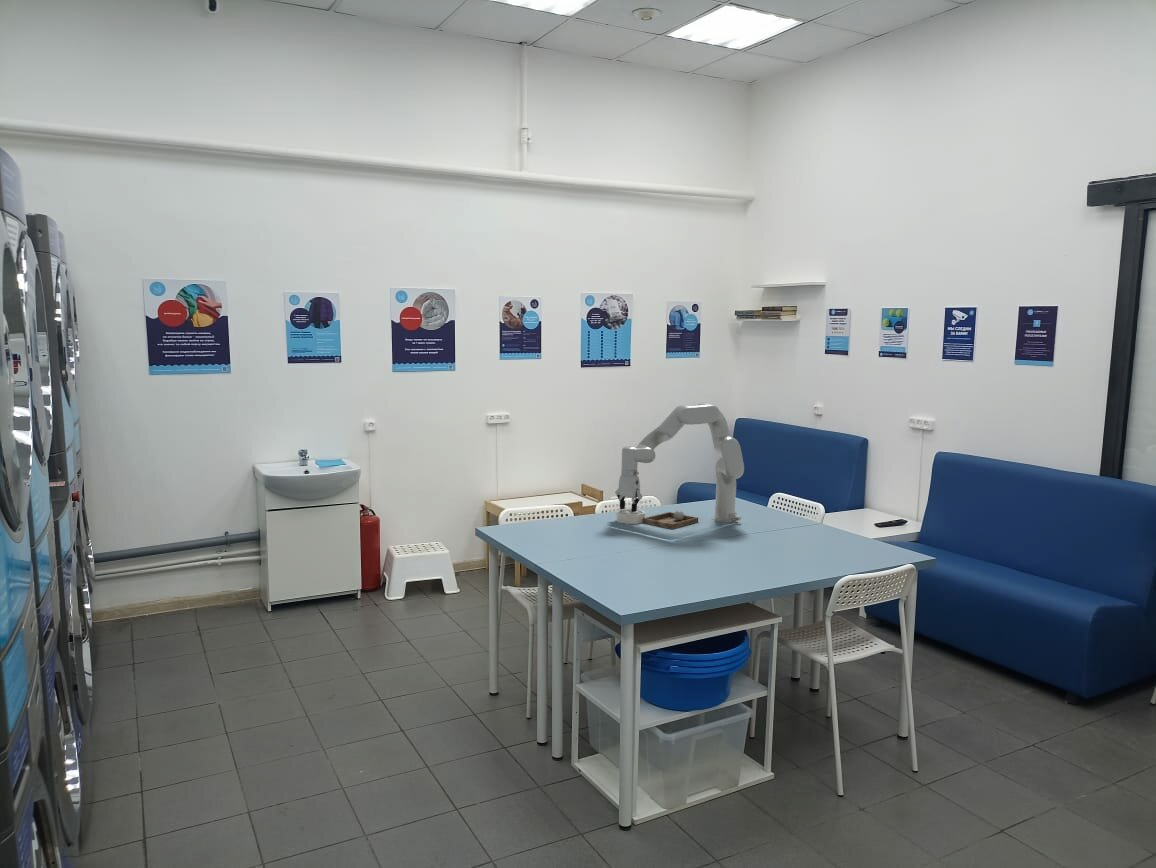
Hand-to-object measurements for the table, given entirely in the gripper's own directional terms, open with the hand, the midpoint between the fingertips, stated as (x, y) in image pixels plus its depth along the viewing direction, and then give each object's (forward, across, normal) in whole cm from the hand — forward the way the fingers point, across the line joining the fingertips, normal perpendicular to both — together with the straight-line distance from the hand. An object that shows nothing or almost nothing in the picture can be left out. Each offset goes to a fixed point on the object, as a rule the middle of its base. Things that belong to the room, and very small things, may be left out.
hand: (628, 510), depth 384 cm
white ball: (+5, 0, -4) cm, 6 cm away
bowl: (+6, 0, -2) cm, 6 cm away
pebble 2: (+5, -16, -20) cm, 25 cm away
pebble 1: (+4, 0, -1) cm, 4 cm away
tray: (+6, -16, -13) cm, 21 cm away
